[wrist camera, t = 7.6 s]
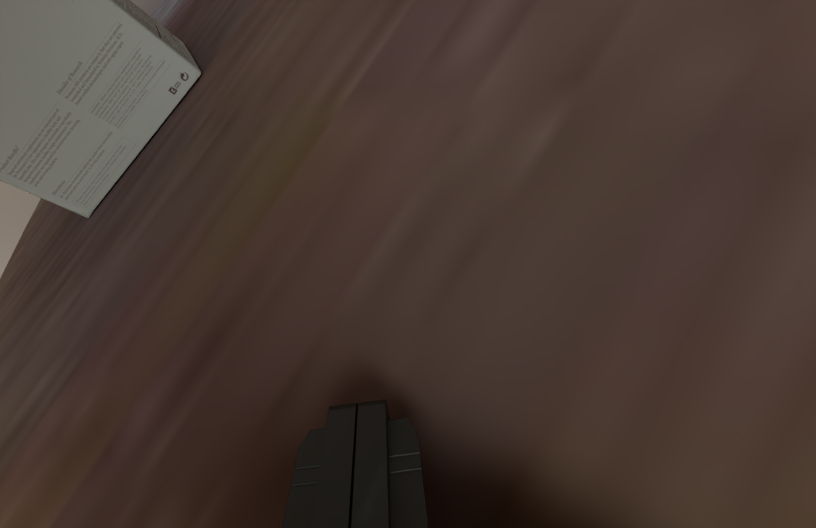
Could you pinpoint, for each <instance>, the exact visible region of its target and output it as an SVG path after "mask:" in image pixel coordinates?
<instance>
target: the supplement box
mask: <svg viewBox="0 0 816 528" xmlns="http://www.w3.org/2000/svg"><path fill="white" fill-rule="evenodd" d="M200 75H201V71H200V69H199V68H198V66H197V64H196V63H195V61H194V59H193V58H192V56H191V54H190V53H189V51H188V49H187V48H186V46H185V45H184V43H183V42H182V41H180V40H179V39H178V38H177V37H175V36H174V35H173V34H171V33H170V32H169V31H168V30H167V29H165V28H164V27H163V26H162V25H160V24H159V23H158V22H157V21H155V20H154V19H153V18H152V17H150V16H149V15H148V14H147V13H145V12H144V11H143V10H142V9H140V8H139V7H138V6H137V5H135V4H134V3H133V2H132V1H130V0H0V181H2V182H4V183H7V184H10V185H12V186H14V187H16V188H19V189H21V190H23V191H26V192H28V193H30V194H33V195H35V196H38V197H40V198H42V199H45V200H47V201H50V202H52V203H54V204H57V205H59V206H61V207H63V208H66V209H68V210H70V211H73V212H75V213H77V214H80V215H82V216H84V217H86V218H89V217H90V216H91V214H92V212H93V211H94V210H95V208H96V207H97V206H98V204H99V203H100V202H101V201H102V199H103V198H104V197H105V195H106V194H107V193H108V192H109V190H110V189H111V188H112V186H113V185H114V184H115V183H116V181H117V180H118V179H119V178H120V176H121V175H122V174H123V173H124V171H125V170H126V169H127V168H128V166H129V165H130V164H131V162H132V161H133V160H134V159H135V157H136V156H137V155H138V154H139V152H140V151H141V150H142V149H143V147H144V146H145V145H146V144H147V142H148V141H149V140H150V138H151V137H152V136H153V135H154V133H155V132H156V131H157V130H158V128H159V127H160V126H161V125H162V123H163V122H164V121H165V119H166V118H167V117H168V116H169V114H170V113H171V112H172V111H173V109H174V108H175V107H176V106H177V104H178V103H179V102H180V100H181V99H182V98H183V97H184V95H185V94H186V93H187V92H188V90H189V89H190V88H191V87H192V85H193V84H194V83H195V81H196V80H197V79H198V77H199V76H200Z"/></svg>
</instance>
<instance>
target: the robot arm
mask: <svg viewBox="0 0 816 528" xmlns="http://www.w3.org/2000/svg"><path fill="white" fill-rule="evenodd" d="M291 485H292V486H291V488H290V492H289V497H288V502H287V506H286V511H285V516H284V521H283V525H282V528H429V527H428V519H427V510H426V501H425V492H424V484H423V475H422V467H421V459H420V451H419V442H418V434H417V432H416V430H415V429H414V427H413V426H412V424H411V423H410V421H409V420H408V418H404V419H396V420H390V419H389V413H388V407H387V401H386V400H380V401H372V402H364V403H359V404H358V403H355V404H347V405H339V406H331V407H329V410H328V416H327V423H326V428H324V429H317V430H310V432H309V433H308V435H307V436H306V438H305V439H304V441H303V442H302V444H301V445H300V447H299V449H298V454H297V459H296V464H295V471H294V473H293V478H292V483H291Z"/></svg>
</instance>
